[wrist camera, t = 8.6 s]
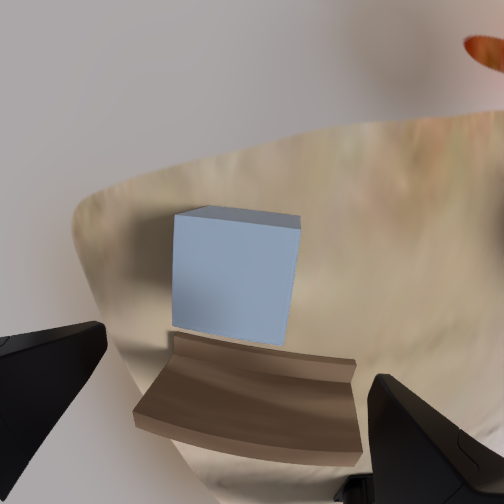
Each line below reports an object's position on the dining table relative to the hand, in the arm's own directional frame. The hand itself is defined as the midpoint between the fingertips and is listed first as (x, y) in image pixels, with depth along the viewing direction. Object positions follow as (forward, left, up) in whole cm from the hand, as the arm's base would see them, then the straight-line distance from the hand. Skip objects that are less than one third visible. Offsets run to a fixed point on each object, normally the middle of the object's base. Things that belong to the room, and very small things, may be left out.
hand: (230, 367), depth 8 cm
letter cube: (0, +1, -12) cm, 12 cm away
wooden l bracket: (-9, -1, -12) cm, 15 cm away
